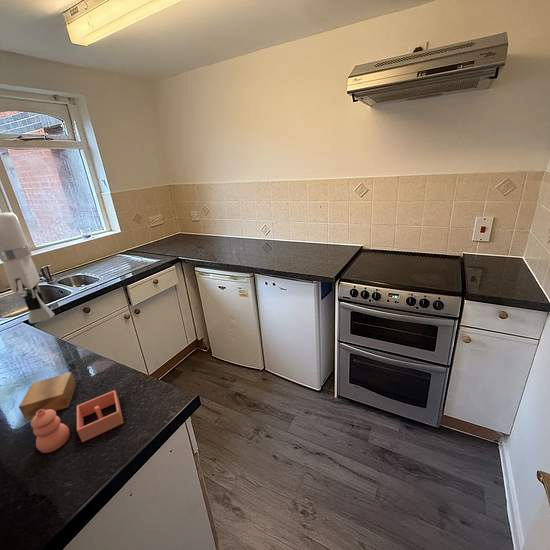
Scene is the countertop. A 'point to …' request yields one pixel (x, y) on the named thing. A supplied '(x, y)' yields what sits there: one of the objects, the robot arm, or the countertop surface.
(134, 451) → the countertop surface
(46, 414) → the pottery
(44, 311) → the flask
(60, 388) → the oak block
